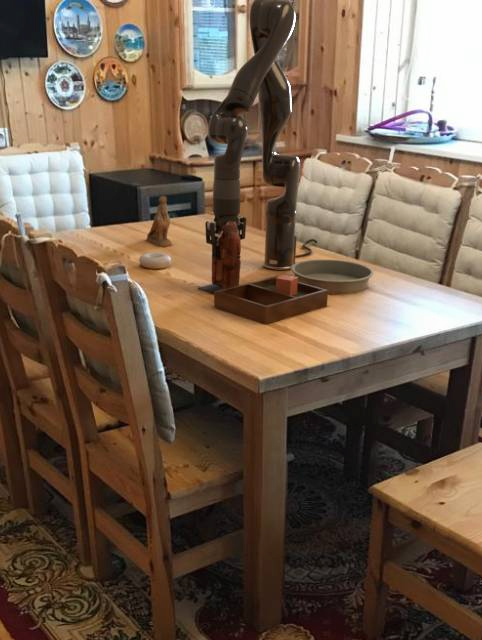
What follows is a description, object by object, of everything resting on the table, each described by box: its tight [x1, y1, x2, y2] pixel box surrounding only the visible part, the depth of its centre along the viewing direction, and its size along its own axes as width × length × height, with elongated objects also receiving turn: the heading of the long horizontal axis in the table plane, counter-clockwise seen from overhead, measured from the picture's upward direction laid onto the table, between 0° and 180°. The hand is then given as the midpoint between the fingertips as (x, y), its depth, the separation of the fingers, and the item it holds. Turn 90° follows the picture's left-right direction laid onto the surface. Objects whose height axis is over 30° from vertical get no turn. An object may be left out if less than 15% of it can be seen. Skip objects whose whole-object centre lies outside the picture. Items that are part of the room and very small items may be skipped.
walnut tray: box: [213, 275, 329, 325], centre depth 221 cm, size 25×19×4 cm
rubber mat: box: [197, 283, 225, 295], centre depth 235 cm, size 11×11×1 cm
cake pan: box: [290, 259, 374, 295], centre depth 244 cm, size 25×25×4 cm
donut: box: [138, 252, 172, 270], centre depth 255 cm, size 10×3×10 cm
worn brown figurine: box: [146, 194, 172, 247], centre depth 279 cm, size 12×6×18 cm, turn 26°
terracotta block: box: [276, 274, 298, 296], centre depth 224 cm, size 4×4×4 cm
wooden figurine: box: [211, 221, 242, 288], centre depth 230 cm, size 12×6×18 cm, turn 31°
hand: (225, 257), depth 231 cm, fingers closed on wooden figurine, 6 cm apart
